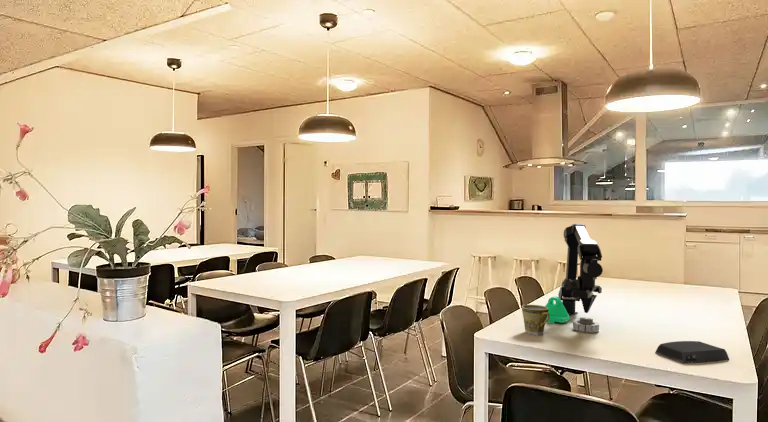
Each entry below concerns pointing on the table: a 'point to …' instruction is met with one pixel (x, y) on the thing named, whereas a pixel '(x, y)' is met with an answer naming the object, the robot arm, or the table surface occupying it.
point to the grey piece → (586, 327)
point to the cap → (586, 321)
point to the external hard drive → (692, 352)
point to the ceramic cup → (535, 318)
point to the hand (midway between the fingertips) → (586, 312)
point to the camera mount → (556, 310)
